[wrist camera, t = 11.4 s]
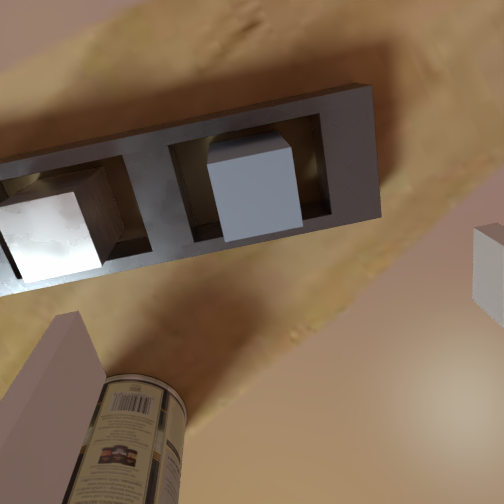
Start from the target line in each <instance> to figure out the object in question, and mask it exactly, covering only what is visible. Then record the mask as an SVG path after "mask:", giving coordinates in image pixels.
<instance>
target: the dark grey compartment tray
mask: <svg viewBox="0 0 504 504" xmlns="http://www.w3.org/2000/svg"><path fill="white" fill-rule="evenodd" d="M307 115H310V119H311V126H312V134H313V141H314V149H315V156H316V164H317V171H318V179H319V186H320V194H321V200H319V201H314V202H310V203H305V204H300V209H301V216H302V222H303V227H298V228H293V229H288V230H283V231H278V232H273V233H268V234H263V235H258V236H253V237H248V238H243V239H239V240H234V241H229V242H225V240H224V235H223V231H222V227H221V223H220V221H218V222H214V223H209V224H204V225H199V226H196V222H195V218H194V214H193V211H192V207H191V203H190V199H189V196H188V192H187V188H186V184H185V181H184V177H183V173H182V169H181V166H180V162H179V158H178V154H177V151H176V147H175V143H180V142H185V141H189V140H194V139H199V138H203V137H208V136H213V135H218V134H222V133H227V132H232V131H237V130H241V129H246V128H251V127H255V126H260V125H265V124H270V123H274V122H279V121H284V120H288V119H293V118H298V117H303V116H307ZM119 155H122V156H123V159H124V162H125V166H126V169H127V172H128V175H129V178H130V181H131V184H132V188H133V191H134V194H135V197H136V200H137V203H138V206H139V209H140V213H141V216H142V219H143V222H144V225H145V228H146V231H147V234H148V236H146V237H142V238H137V239H132V240H127V241H122V242H118V243H116V244H115V246H114V247H113V249H112V251H111V253H110V254H109V256H108V258H107V259H106V261H105V263H104V265H103V266H102V267H100V268H95V269H90V270H85V271H80V272H76V273H71V274H66V275H61V276H56V277H52V278H47V279H42V280H37V281H32V282H28V283H25V281H24V279H23V277H22V275H21V273H20V271H19V269H18V266H17V264H16V262H15V260H14V258H13V256H12V254H11V252H10V249H9V247H8V245H7V243H6V241H5V239H4V237H3V235H2V233H1V230H0V296H4V295H9V294H14V293H19V292H24V291H29V290H33V289H38V288H43V287H48V286H53V285H57V284H62V283H67V282H72V281H77V280H82V279H86V278H91V277H96V276H101V275H106V274H111V273H115V272H120V271H125V270H130V269H135V268H140V267H144V266H149V265H154V264H159V263H164V262H168V261H173V260H178V259H183V258H188V257H193V256H197V255H202V254H207V253H212V252H217V251H222V250H226V249H231V248H236V247H241V246H246V245H251V244H255V243H260V242H265V241H270V240H275V239H279V238H284V237H289V236H294V235H299V234H304V233H308V232H313V231H318V230H323V229H328V228H333V227H337V226H342V225H347V224H352V223H357V222H362V221H366V220H371V219H376V218H381V217H382V216H381V202H380V189H379V175H378V162H377V148H376V135H375V122H374V108H373V95H372V85H367V84H360V83H353V84H349V85H344V86H339V87H334V88H330V89H325V90H320V91H316V92H311V93H306V94H302V95H297V96H292V97H288V98H283V99H278V100H273V101H269V102H264V103H259V104H255V105H250V106H245V107H241V108H236V109H231V110H226V111H222V112H217V113H212V114H208V115H203V116H198V117H194V118H189V119H184V120H179V121H175V122H170V123H165V124H161V125H156V126H151V127H147V128H142V129H137V130H132V131H128V132H123V133H118V134H114V135H109V136H104V137H100V138H95V139H90V140H85V141H81V142H76V143H71V144H67V145H62V146H57V147H53V148H48V149H43V150H38V151H34V152H29V153H24V154H20V155H15V156H10V157H6V158H1V159H0V203H1V202H3V201H4V200H6V199H8V198H9V197H8V195H7V193H6V191H5V189H4V186H3V184H2V182H1V180H5V179H10V178H15V177H19V176H24V175H29V174H34V173H38V172H43V171H48V170H52V169H57V168H62V167H67V166H71V165H76V164H81V163H86V162H90V161H95V160H100V159H104V158H109V157H114V156H119Z"/></svg>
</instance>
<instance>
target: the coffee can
mask: <svg viewBox="0 0 504 504" xmlns="http://www.w3.org/2000/svg"><path fill="white" fill-rule="evenodd" d="M186 420H187V413H186V408H185V405H184V402H183V400H182V399H181V398H180V396H179V395H178V393H177V392H176V391H175V390H174V389H173V388H171V387H170V386H169V385H167V384H166V383H164V382H162V381H160V380H158V379H156V378H152V377H148V376H144V375H138V374H122V375H117V376H112V377H109V378H107V379H105V382H104V385H103V388H102V391H101V393H100V396H99V399H98V402H97V405H96V408H95V410H94V413H93V416H92V419H91V422H90V425H89V427H88V430H87V433H86V436H85V439H84V441H83V444H82V447H81V450H80V453H79V456H78V458H77V461H76V464H75V467H74V470H73V473H72V475H71V478H70V481H69V484H68V487H67V489H66V492H65V495H64V498H63V501H62V504H178V499H179V488H180V477H181V466H182V454H183V444H184V433H185V426H186Z"/></svg>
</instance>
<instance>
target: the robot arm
mask: <svg viewBox="0 0 504 504" xmlns="http://www.w3.org/2000/svg"><path fill="white" fill-rule="evenodd" d="M473 255H474V256H473V301H474V302H475V303H477V304H478V305H479V306H480V307H481V308H482V309H483V310H484V311H485V312H486V313H488V314H489V315H490V316H491V317H492V318H493V319H494V320H495V321H496V322H498V323H499V324H500V325H501V326H502V327H503V328H504V226H502V225H500V224H499V223H493V224H489V225H484V226H479V227H474V253H473ZM106 377H107V376H106V374H105V372H104V369H103V367H102V365H101V362H100V360H99V358H98V355H97V353H96V350H95V348H94V346H93V343H92V341H91V339H90V336H89V334H88V332H87V329H86V327H85V325H84V322H83V320H82V317H81V315H80V313H79V311H75V312H71V313H66V314H61V315H56V316H55V318H54V319H53V321H52V322H51V324H50V325H49V327H48V329H47V330H46V332H45V333H44V335H43V336H42V338H41V339H40V341H39V342H38V344H37V346H36V347H35V349H34V350H33V352H32V353H31V355H30V356H29V358H28V360H27V361H26V363H25V364H24V366H23V367H22V369H21V370H20V372H19V374H18V375H17V377H16V378H15V380H14V381H13V383H12V384H11V386H10V388H9V389H8V391H7V392H6V394H5V395H4V397H3V398H2V400H1V401H0V504H62V501H63V498H64V495H65V492H66V489H67V487H68V484H69V481H70V478H71V475H72V473H73V470H74V467H75V464H76V461H77V458H78V456H79V453H80V450H81V447H82V444H83V441H84V439H85V436H86V433H87V430H88V427H89V425H90V422H91V419H92V416H93V413H94V410H95V408H96V405H97V402H98V399H99V396H100V393H101V391H102V388H103V385H104V382H105V379H106Z"/></svg>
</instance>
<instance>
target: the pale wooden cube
mask: <svg viewBox="0 0 504 504" xmlns="http://www.w3.org/2000/svg"><path fill="white" fill-rule="evenodd" d="M124 229H125V228H124V225H123V222H122V219H121V216H120V213H119V210H118V207H117V205H116V202H115V199H114V196H113V193H112V190H111V187H110V184H109V181H108V178H107V175H106V172H105V169H104V166H101V167H96V168H91V169H86V170H82V171H77V172H72V173H68V174H63V175H58V176H53V177H49V178H44V179H39V180H36V181H35V182H33V183H31V184H30V185H28V186H27V187H25V188H24V189H22V190H20V191H19V192H17V193H16V194H14V195H12V196H11V197H9V198H8V199H6V200H4V201H3V202H1V203H0V230H1V233H2V235H3V237H4V239H5V241H6V243H7V245H8V247H9V249H10V252H11V254H12V256H13V258H14V260H15V262H16V264H17V266H18V269H19V271H20V273H21V275H22V277H23V279H24V281H25V283H28V282H32V281H37V280H42V279H47V278H52V277H56V276H61V275H66V274H71V273H76V272H80V271H85V270H90V269H95V268H100V267H102V266H103V265H104V263H105V261H106V259H107V258H108V256H109V254H110V253H111V251H112V249H113V247H114V246H115V244H116V242H117V241H118V239H119V237H120V235H121V234H122V232H123V230H124Z"/></svg>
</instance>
